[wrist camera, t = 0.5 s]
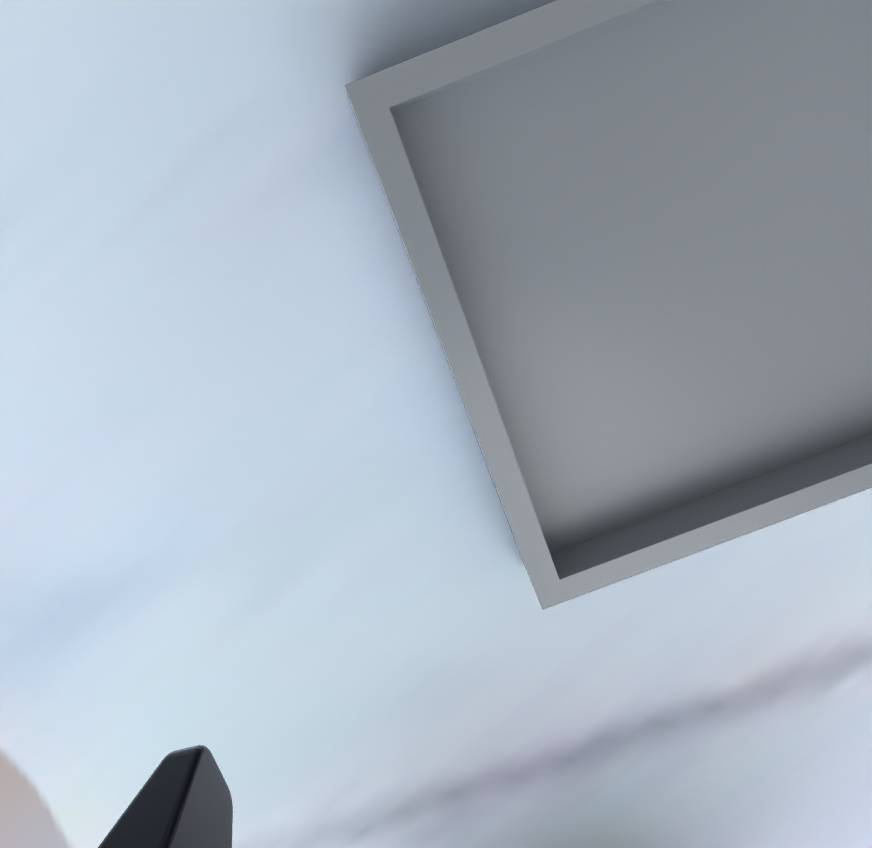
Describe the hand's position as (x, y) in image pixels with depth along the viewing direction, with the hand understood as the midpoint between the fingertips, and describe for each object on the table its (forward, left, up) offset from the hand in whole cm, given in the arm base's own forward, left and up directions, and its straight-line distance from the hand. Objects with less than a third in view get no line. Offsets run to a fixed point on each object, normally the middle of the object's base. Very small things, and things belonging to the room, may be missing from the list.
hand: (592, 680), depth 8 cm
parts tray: (0, -8, -14) cm, 16 cm away
